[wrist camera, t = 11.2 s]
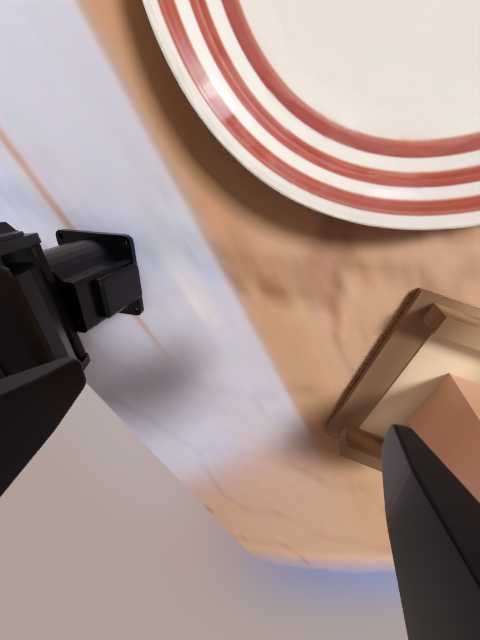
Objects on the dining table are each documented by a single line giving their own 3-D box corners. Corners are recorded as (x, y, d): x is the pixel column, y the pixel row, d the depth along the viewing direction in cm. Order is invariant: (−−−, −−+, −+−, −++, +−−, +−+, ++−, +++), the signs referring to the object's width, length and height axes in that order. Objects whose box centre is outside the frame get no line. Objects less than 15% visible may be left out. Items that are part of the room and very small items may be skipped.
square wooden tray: (325, 427, 25) (325, 453, 22) (418, 287, 17) (433, 304, 15) (485, 491, 23) (503, 524, 21) (656, 369, 16) (709, 400, 14)
